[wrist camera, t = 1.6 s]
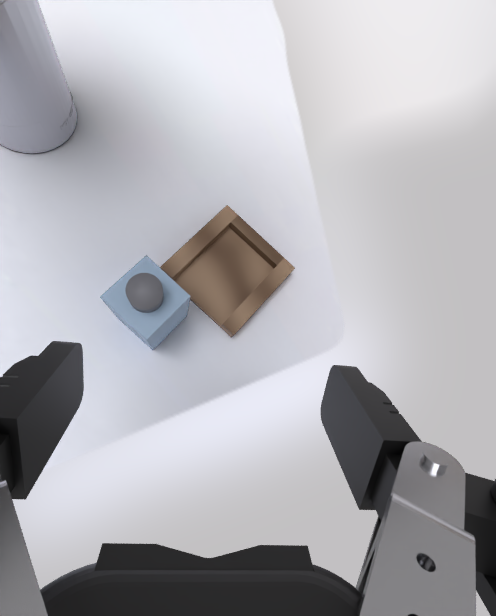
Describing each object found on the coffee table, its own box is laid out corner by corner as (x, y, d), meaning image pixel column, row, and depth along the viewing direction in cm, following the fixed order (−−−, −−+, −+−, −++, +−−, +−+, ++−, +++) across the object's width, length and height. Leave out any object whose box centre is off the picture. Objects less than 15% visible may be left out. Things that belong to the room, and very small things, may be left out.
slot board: (231, 337, 36) (233, 335, 35) (160, 272, 36) (160, 267, 35) (289, 272, 39) (295, 268, 38) (224, 212, 39) (227, 204, 38)
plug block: (152, 350, 35) (144, 336, 25) (117, 317, 35) (94, 290, 24) (186, 315, 36) (191, 289, 26) (152, 284, 36) (144, 245, 26)
